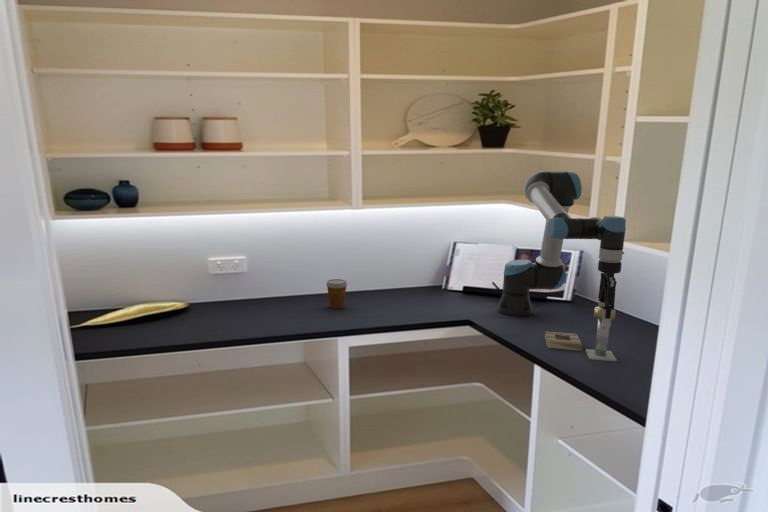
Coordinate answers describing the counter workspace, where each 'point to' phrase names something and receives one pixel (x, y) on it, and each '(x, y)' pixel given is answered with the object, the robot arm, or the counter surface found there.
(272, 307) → the counter surface
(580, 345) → the plate
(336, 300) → the orange pill bottle
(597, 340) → the steel peg
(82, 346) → the counter surface
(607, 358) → the rubber mat
